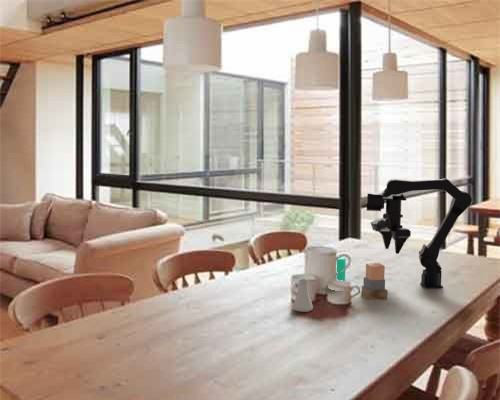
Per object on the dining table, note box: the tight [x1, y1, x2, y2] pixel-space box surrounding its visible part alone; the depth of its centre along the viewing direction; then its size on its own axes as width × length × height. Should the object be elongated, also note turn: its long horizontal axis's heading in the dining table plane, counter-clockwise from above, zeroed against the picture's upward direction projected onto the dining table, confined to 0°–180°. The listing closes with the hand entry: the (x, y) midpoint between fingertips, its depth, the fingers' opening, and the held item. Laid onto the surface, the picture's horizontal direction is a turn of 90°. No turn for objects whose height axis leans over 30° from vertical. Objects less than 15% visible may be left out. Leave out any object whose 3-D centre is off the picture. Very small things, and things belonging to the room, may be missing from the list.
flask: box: [291, 278, 314, 313], centre depth 181 cm, size 7×7×10 cm
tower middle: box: [362, 276, 386, 290], centre depth 196 cm, size 6×6×4 cm
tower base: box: [361, 285, 389, 301], centre depth 196 cm, size 7×7×4 cm
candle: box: [337, 256, 347, 282], centre depth 212 cm, size 6×6×12 cm
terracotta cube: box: [365, 262, 386, 280], centre depth 195 cm, size 5×5×5 cm
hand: (391, 251), depth 212 cm, fingers open, 9 cm apart
